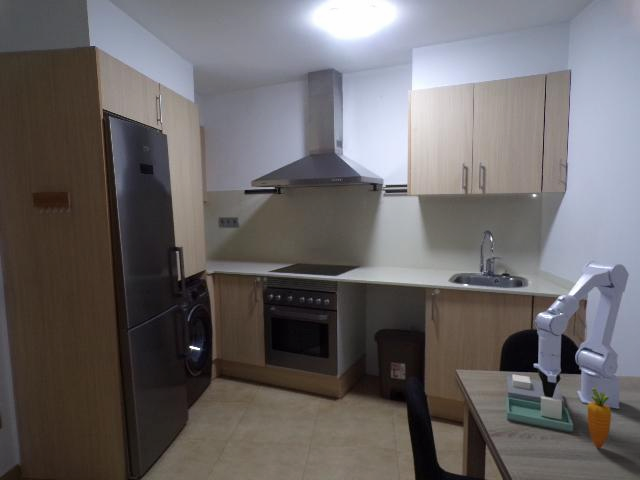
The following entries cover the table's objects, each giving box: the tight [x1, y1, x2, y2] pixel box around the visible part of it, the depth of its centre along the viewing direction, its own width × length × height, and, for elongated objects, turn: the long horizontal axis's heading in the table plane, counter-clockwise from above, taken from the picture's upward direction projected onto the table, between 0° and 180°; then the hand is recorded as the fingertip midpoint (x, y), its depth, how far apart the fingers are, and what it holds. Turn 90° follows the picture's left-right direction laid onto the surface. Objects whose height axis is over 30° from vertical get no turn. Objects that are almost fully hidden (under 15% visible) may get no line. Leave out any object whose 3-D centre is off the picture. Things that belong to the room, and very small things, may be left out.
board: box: [506, 375, 565, 407], centre depth 120 cm, size 15×13×4 cm
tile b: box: [511, 374, 531, 389], centre depth 122 cm, size 5×5×2 cm
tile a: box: [541, 396, 562, 420], centre depth 108 cm, size 5×5×2 cm
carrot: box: [587, 388, 612, 449], centre depth 94 cm, size 5×5×15 cm
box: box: [505, 396, 574, 434], centre depth 108 cm, size 16×10×2 cm, turn 65°
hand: (548, 395), depth 113 cm, fingers closed
